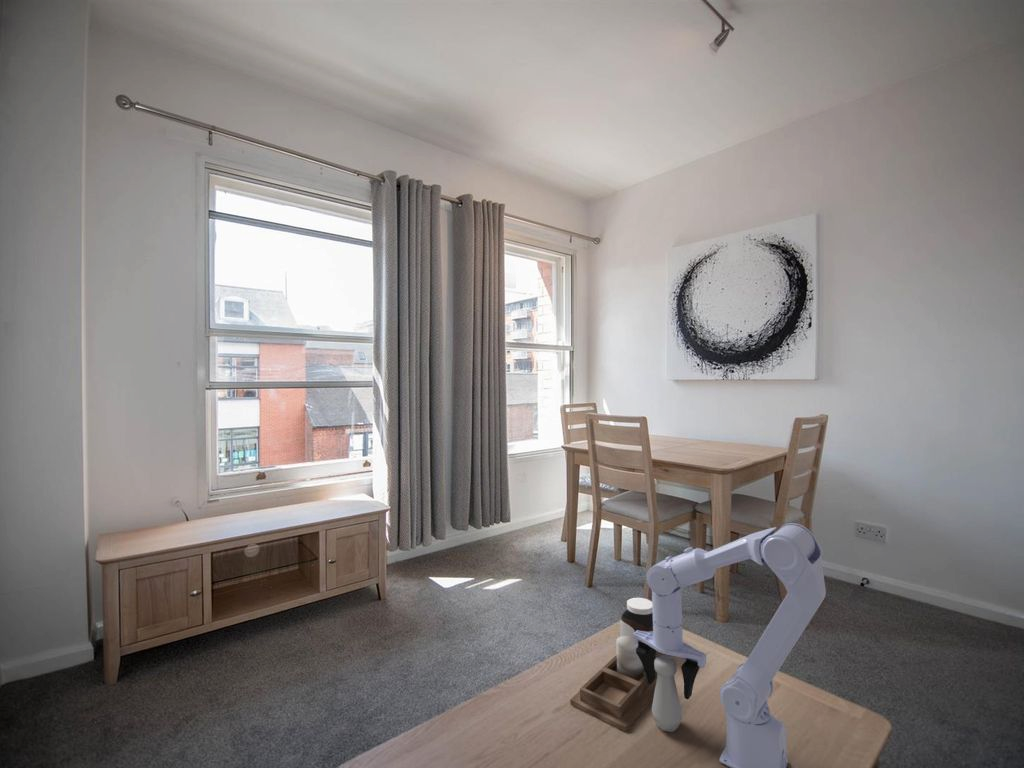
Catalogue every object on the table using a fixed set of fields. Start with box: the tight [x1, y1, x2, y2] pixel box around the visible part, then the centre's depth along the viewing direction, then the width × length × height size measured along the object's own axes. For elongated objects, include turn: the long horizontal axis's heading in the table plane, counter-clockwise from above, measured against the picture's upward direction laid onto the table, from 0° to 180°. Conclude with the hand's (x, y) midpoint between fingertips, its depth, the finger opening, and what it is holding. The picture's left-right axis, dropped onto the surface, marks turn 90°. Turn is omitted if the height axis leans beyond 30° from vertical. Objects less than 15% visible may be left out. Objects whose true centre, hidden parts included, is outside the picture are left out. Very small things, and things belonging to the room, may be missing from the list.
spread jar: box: [619, 597, 653, 637], centre depth 122 cm, size 12×11×12 cm
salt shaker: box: [651, 655, 683, 733], centre depth 94 cm, size 6×6×13 cm
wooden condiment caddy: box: [569, 635, 658, 733], centre depth 104 cm, size 13×21×9 cm, turn 139°
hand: (669, 688), depth 95 cm, fingers open, 7 cm apart
